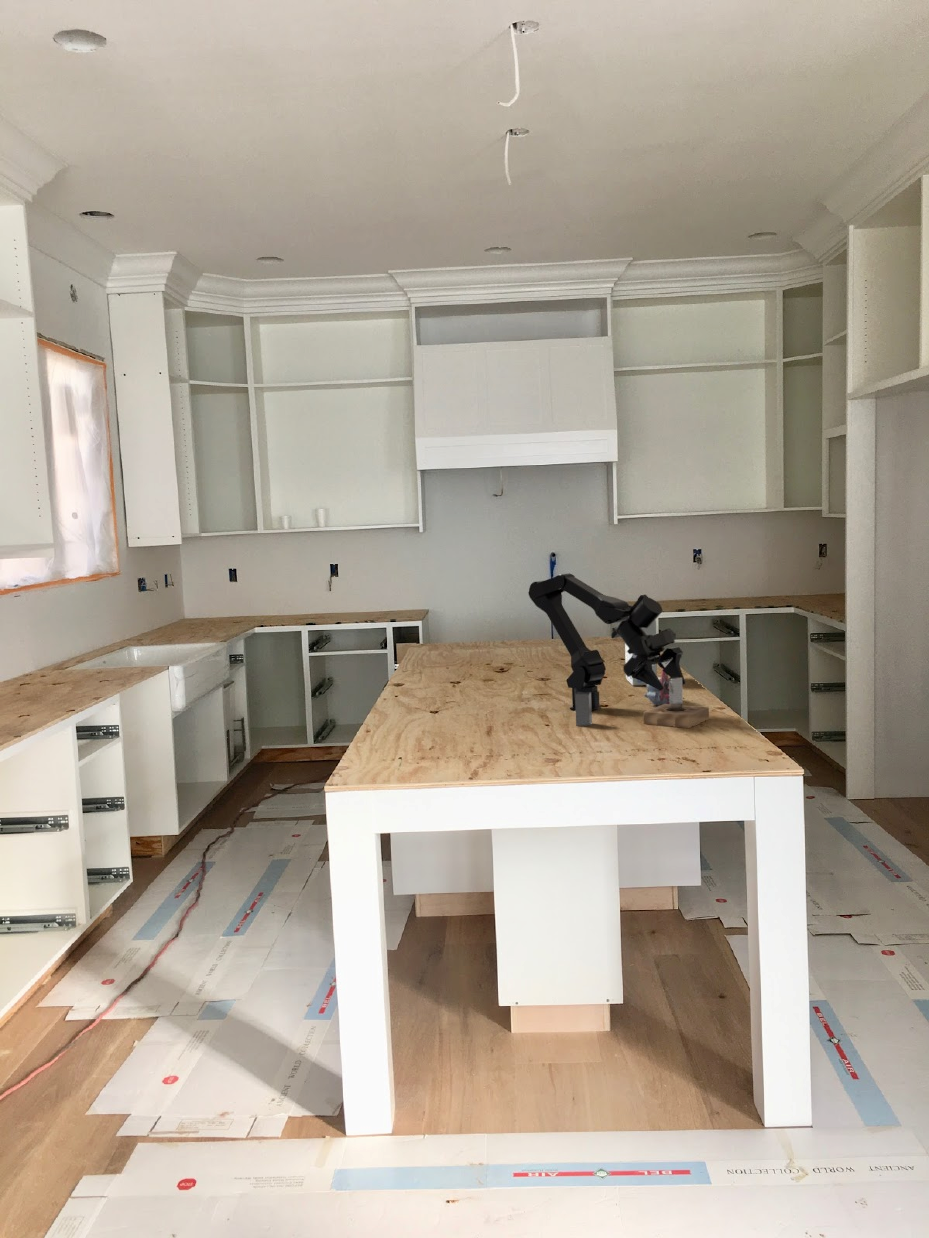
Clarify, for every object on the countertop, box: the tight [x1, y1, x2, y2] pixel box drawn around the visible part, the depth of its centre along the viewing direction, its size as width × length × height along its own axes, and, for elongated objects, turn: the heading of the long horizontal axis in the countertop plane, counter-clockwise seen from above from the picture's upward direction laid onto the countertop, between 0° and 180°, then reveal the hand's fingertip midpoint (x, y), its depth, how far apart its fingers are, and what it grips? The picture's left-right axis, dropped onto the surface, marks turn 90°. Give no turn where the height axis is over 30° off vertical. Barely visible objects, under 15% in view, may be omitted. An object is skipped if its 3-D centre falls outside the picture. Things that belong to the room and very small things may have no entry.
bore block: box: [643, 704, 710, 729], centre depth 248 cm, size 12×12×3 cm
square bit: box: [575, 692, 593, 727], centre depth 249 cm, size 3×3×8 cm
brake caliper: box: [643, 668, 670, 706], centre depth 273 cm, size 11×11×12 cm
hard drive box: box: [624, 619, 658, 687], centre depth 308 cm, size 16×8×20 cm, turn 179°
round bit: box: [668, 676, 684, 712], centre depth 247 cm, size 3×3×11 cm
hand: (673, 686), depth 248 cm, fingers open, 9 cm apart
